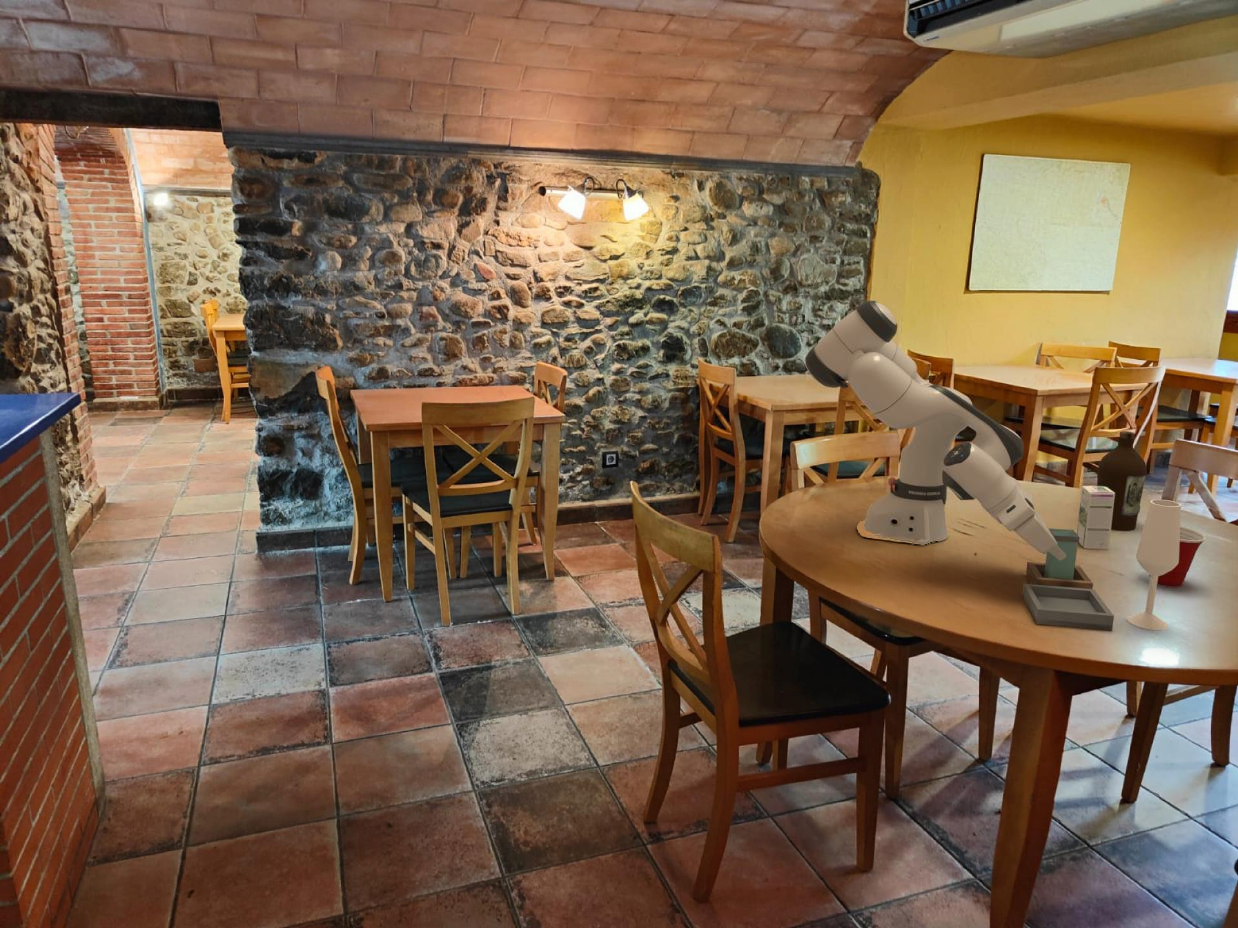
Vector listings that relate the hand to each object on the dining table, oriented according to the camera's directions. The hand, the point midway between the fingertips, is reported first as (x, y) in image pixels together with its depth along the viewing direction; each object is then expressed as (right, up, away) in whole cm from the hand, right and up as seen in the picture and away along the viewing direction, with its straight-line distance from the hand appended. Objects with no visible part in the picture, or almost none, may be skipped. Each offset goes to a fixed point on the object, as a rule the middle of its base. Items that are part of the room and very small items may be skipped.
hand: (1057, 549), depth 168 cm
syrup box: (+23, -2, +26) cm, 34 cm away
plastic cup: (+25, -8, +3) cm, 27 cm away
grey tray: (-5, -11, -11) cm, 17 cm away
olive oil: (+37, +2, +40) cm, 54 cm away
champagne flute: (+9, -13, -16) cm, 22 cm away
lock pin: (+1, -8, +2) cm, 9 cm away
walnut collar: (+1, -8, +2) cm, 9 cm away
